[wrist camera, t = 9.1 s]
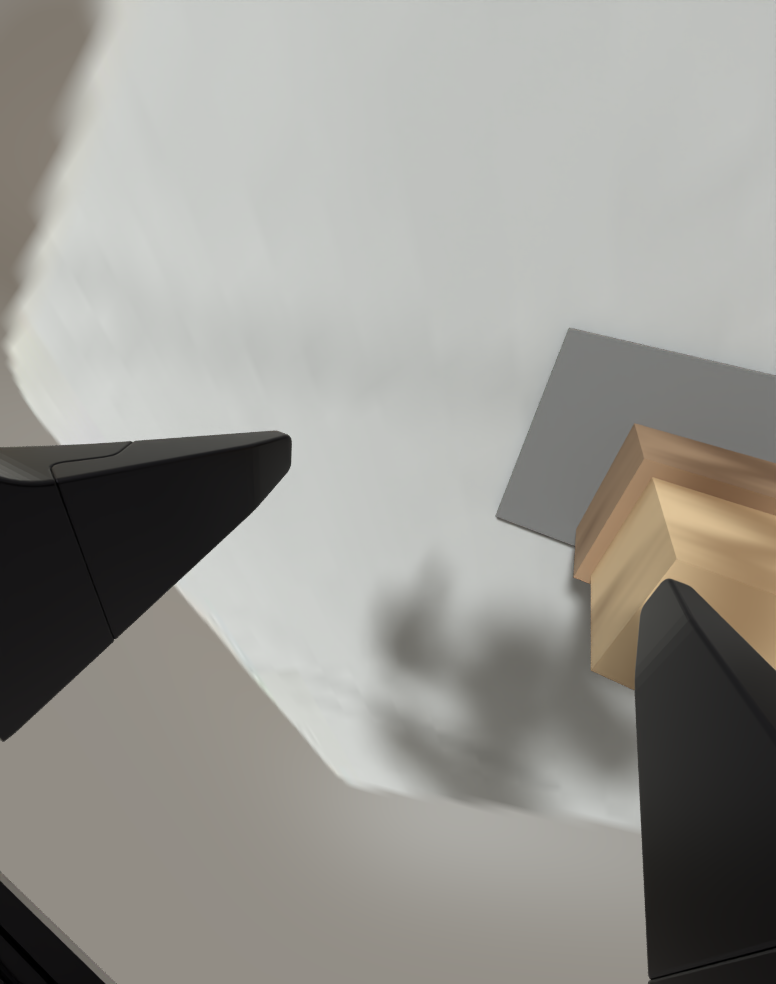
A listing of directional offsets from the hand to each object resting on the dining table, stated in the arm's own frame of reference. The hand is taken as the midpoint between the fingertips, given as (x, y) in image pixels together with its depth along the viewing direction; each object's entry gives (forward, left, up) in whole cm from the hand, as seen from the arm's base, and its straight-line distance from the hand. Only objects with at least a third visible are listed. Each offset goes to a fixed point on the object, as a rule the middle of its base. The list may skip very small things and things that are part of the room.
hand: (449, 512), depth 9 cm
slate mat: (-7, +2, -12) cm, 14 cm away
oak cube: (-8, +3, -8) cm, 12 cm away
